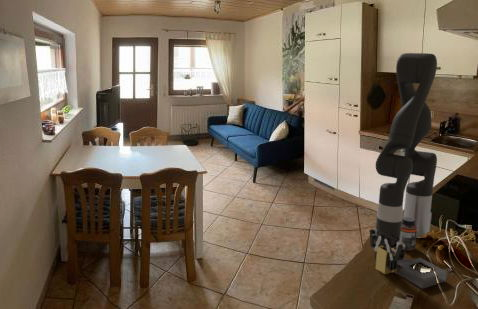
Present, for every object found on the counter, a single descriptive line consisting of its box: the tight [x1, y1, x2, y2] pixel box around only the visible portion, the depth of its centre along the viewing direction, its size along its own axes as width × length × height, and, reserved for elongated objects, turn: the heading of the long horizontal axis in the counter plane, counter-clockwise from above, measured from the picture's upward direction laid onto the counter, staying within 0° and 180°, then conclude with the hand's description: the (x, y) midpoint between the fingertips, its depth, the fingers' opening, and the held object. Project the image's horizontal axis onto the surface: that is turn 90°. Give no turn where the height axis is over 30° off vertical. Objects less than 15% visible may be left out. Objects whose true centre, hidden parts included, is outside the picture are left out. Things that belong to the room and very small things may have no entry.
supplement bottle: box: [399, 216, 417, 252], centre depth 143 cm, size 6×6×11 cm
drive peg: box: [375, 245, 395, 275], centre depth 128 cm, size 4×4×8 cm
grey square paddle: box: [396, 256, 448, 289], centre depth 129 cm, size 10×22×3 cm, turn 24°
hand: (385, 265), depth 128 cm, fingers open, 5 cm apart
